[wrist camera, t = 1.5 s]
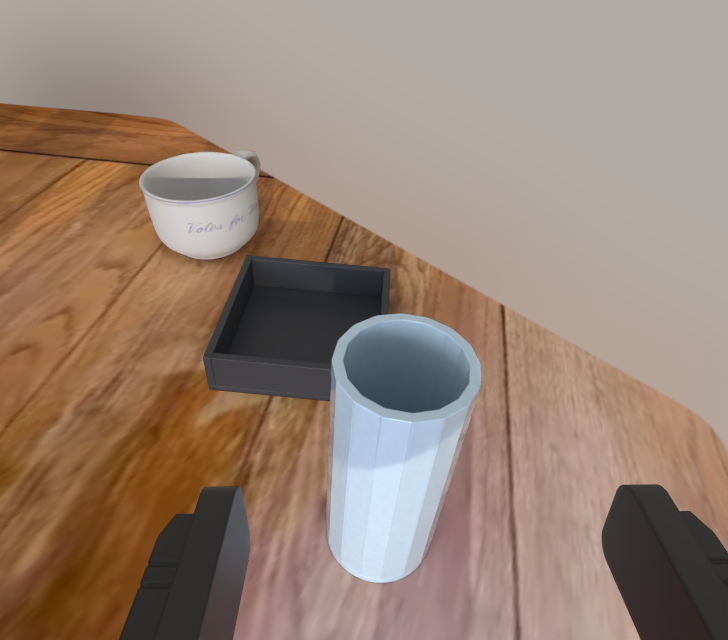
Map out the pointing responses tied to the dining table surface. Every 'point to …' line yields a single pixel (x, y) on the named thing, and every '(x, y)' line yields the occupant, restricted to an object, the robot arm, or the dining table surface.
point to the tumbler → (394, 439)
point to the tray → (290, 324)
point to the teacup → (204, 202)
